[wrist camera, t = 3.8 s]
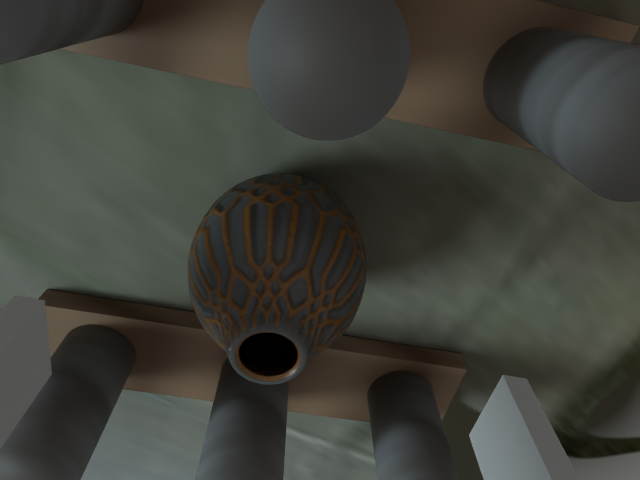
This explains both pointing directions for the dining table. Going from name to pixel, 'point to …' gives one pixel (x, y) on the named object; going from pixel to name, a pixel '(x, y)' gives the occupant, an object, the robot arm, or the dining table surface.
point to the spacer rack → (321, 124)
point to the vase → (276, 274)
